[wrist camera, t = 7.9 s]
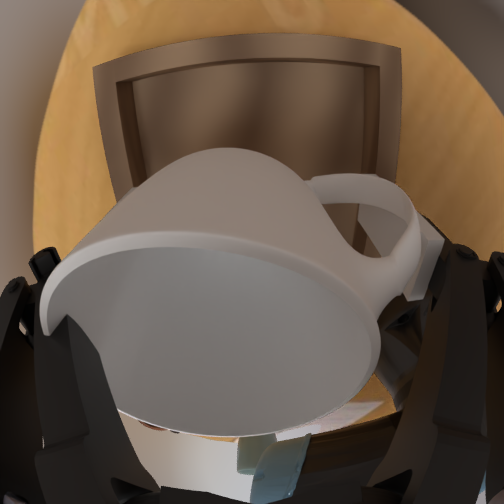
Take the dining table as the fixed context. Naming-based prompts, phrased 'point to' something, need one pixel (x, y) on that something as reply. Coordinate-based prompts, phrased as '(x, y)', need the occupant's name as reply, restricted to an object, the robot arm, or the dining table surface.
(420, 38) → the dining table surface
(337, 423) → the dining table surface
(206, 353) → the mug
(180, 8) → the dining table surface
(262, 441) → the cup
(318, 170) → the tray
